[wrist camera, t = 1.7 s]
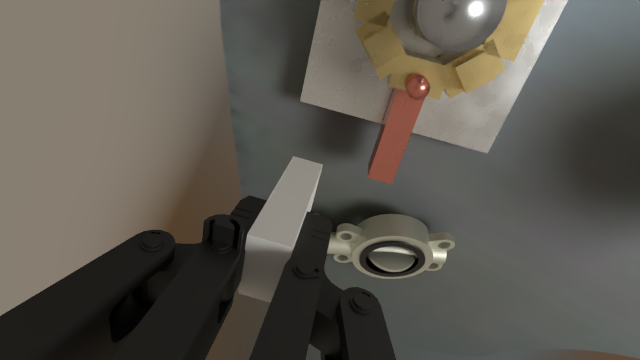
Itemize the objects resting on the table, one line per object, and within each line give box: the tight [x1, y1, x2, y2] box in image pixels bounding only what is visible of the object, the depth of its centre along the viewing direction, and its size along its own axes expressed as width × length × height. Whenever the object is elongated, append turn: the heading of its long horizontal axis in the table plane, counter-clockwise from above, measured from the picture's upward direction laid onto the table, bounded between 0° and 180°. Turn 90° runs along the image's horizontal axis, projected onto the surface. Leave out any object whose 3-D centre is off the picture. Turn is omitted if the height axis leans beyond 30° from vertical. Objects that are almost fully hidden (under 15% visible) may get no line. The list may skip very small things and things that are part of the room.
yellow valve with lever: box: [354, 0, 545, 184], centre depth 25 cm, size 20×12×5 cm, turn 167°
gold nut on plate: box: [300, 0, 568, 153], centre depth 23 cm, size 20×18×12 cm
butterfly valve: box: [314, 213, 455, 279], centre depth 32 cm, size 9×20×17 cm
